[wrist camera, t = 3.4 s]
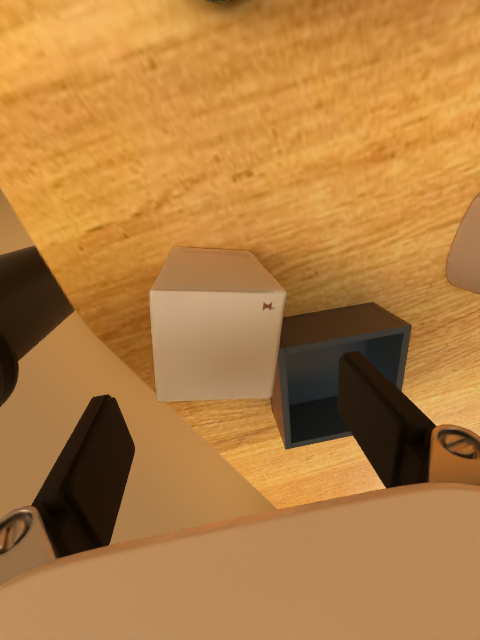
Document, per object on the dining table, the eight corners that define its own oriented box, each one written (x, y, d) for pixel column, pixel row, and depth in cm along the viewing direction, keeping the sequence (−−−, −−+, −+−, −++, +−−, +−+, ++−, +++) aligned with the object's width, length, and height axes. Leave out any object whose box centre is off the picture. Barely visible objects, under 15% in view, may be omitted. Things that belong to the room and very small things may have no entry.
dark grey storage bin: (271, 410, 34) (285, 449, 29) (262, 321, 29) (277, 349, 24) (365, 391, 35) (396, 426, 30) (373, 302, 30) (412, 325, 24)
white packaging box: (170, 244, 25) (146, 284, 13) (251, 249, 26) (292, 290, 14) (172, 319, 28) (153, 405, 16) (244, 320, 29) (274, 401, 17)
